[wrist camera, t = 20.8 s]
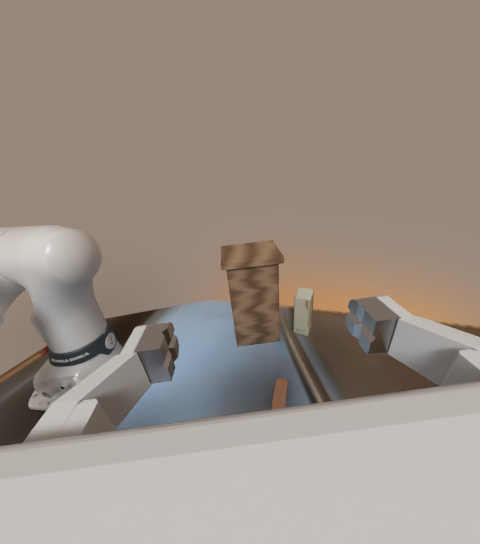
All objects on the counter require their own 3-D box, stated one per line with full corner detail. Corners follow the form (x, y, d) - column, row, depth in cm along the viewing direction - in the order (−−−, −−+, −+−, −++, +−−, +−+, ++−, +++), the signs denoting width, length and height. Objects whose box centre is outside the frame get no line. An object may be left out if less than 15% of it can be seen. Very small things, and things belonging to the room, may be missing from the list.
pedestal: (233, 349, 57) (220, 264, 45) (232, 321, 68) (221, 246, 56) (284, 343, 57) (283, 256, 46) (274, 315, 68) (272, 240, 56)
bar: (254, 519, 29) (253, 513, 28) (276, 385, 47) (276, 377, 46) (271, 527, 29) (271, 520, 28) (287, 387, 46) (287, 380, 45)
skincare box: (308, 337, 58) (310, 301, 53) (292, 333, 60) (293, 298, 55) (312, 322, 63) (314, 288, 58) (297, 319, 65) (299, 286, 60)
